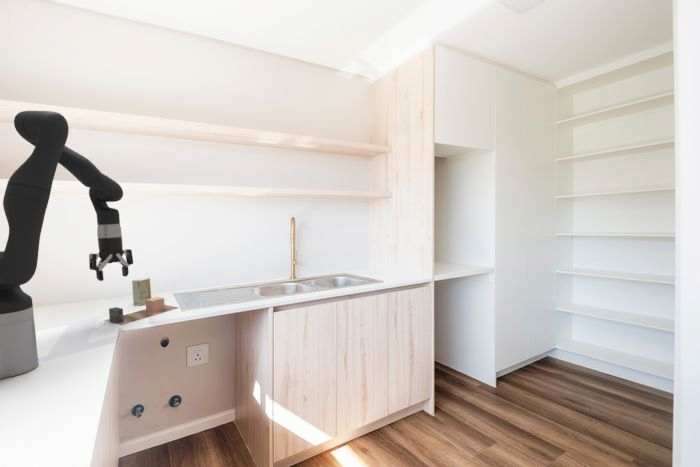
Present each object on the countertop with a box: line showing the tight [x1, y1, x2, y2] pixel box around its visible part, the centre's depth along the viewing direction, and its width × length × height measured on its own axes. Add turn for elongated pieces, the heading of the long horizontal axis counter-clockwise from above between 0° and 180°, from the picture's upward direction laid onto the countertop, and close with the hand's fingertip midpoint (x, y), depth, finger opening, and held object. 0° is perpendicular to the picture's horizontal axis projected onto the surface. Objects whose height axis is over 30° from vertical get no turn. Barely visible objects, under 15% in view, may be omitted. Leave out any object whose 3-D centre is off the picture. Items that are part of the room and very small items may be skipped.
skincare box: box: [131, 277, 152, 307], centre depth 159 cm, size 6×4×12 cm
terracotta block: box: [145, 296, 166, 313], centre depth 148 cm, size 5×5×5 cm
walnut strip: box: [104, 304, 179, 326], centre depth 143 cm, size 24×12×6 cm, turn 151°
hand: (113, 278), depth 133 cm, fingers open, 8 cm apart
